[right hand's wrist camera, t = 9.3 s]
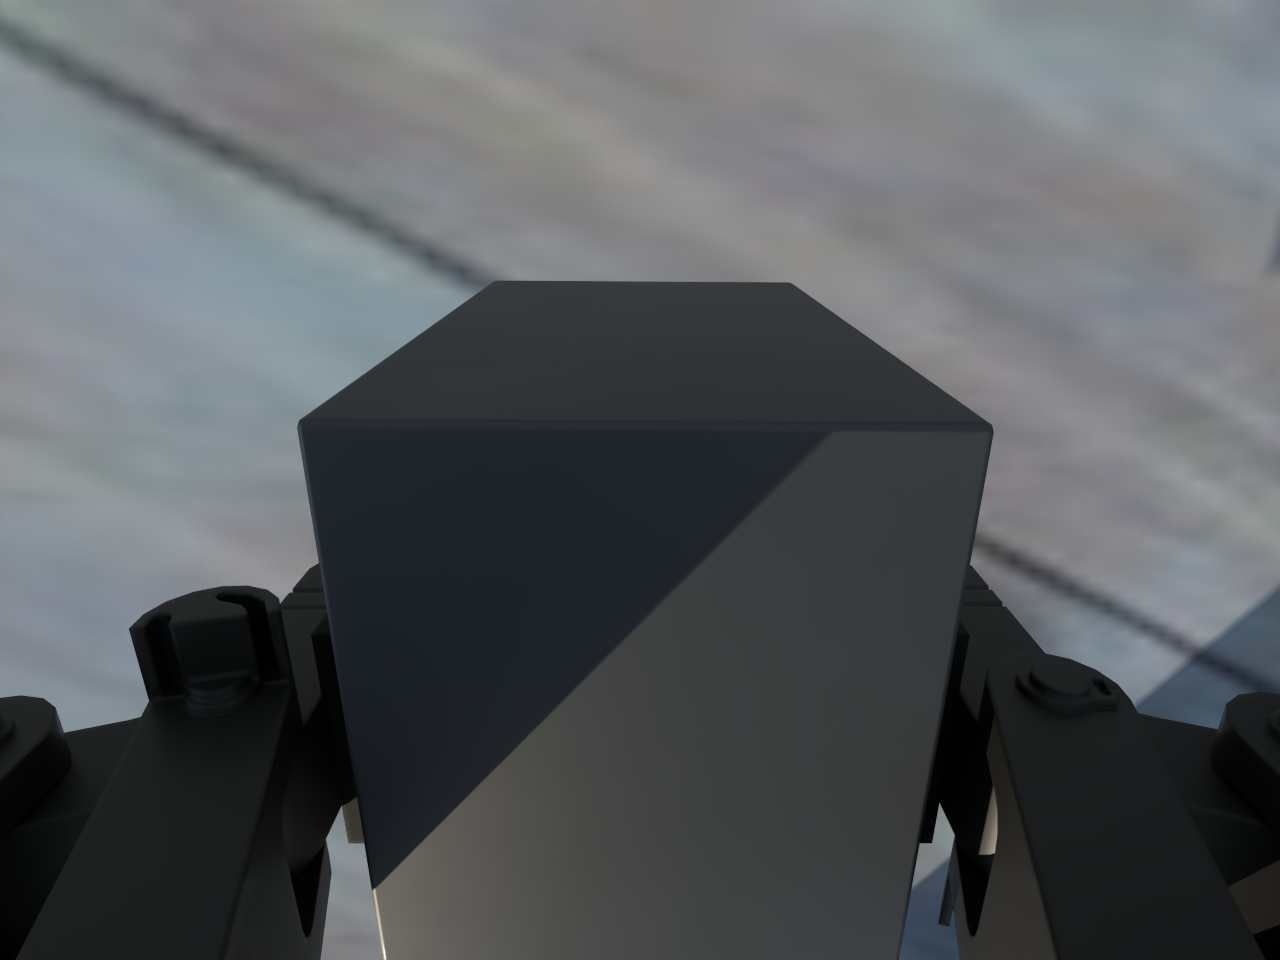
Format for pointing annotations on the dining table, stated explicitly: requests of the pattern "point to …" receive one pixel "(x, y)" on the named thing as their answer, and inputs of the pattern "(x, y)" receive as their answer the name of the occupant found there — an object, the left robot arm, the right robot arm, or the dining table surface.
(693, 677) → the beam
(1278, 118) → the dining table surface
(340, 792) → the right robot arm
